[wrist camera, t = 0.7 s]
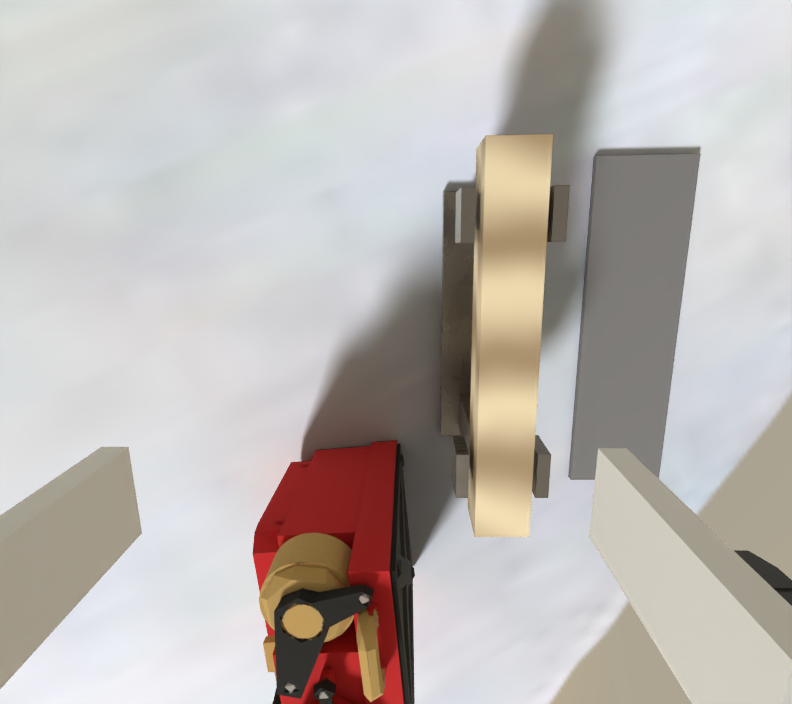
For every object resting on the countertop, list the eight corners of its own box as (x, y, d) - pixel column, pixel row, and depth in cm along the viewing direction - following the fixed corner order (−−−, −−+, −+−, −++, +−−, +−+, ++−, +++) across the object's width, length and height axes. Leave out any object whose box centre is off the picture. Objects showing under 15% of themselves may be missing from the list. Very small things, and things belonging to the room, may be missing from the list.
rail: (476, 148, 28) (486, 135, 24) (535, 147, 28) (553, 134, 24) (467, 506, 33) (474, 536, 30) (516, 506, 33) (529, 536, 30)
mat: (593, 157, 37) (596, 155, 36) (695, 155, 37) (700, 153, 36) (568, 476, 44) (570, 479, 43) (655, 476, 43) (658, 479, 43)
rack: (443, 192, 38) (460, 167, 25) (516, 191, 38) (571, 165, 25) (440, 431, 43) (454, 511, 30) (506, 431, 43) (547, 511, 30)
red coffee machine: (294, 442, 43) (202, 604, 24) (402, 434, 43) (398, 593, 24) (316, 586, 47) (251, 829, 28) (416, 580, 47) (422, 822, 27)
